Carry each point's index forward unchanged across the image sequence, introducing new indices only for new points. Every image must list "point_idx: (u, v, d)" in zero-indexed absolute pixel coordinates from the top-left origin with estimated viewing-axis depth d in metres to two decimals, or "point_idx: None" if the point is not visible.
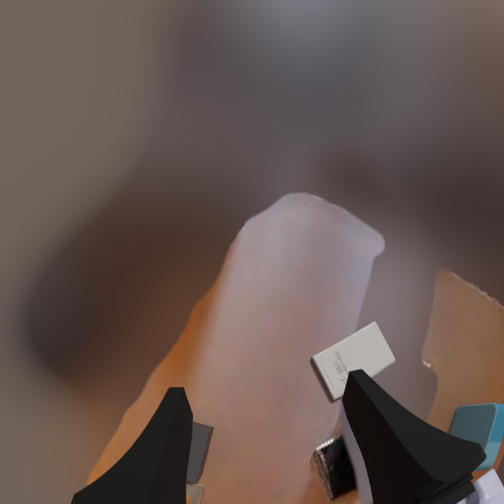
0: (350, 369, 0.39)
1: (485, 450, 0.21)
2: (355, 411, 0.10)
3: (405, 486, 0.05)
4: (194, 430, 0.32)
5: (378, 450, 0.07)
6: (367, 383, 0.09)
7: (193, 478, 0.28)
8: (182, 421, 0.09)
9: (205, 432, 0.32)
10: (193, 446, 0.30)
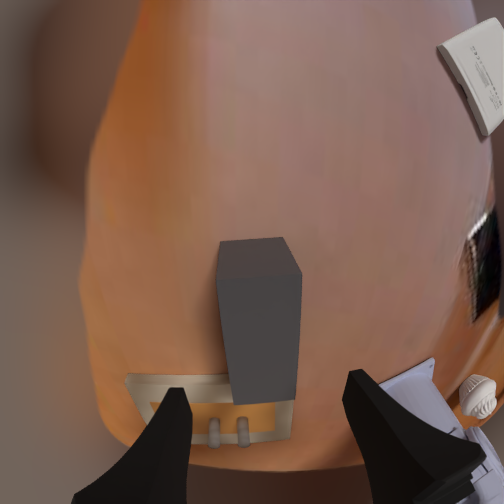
0: (495, 82, 0.12)
1: None
2: (355, 411, 0.10)
3: (405, 486, 0.05)
4: (258, 282, 0.12)
5: (378, 450, 0.07)
6: (367, 383, 0.09)
7: (285, 394, 0.15)
8: (182, 422, 0.09)
9: (292, 276, 0.12)
10: (268, 327, 0.13)
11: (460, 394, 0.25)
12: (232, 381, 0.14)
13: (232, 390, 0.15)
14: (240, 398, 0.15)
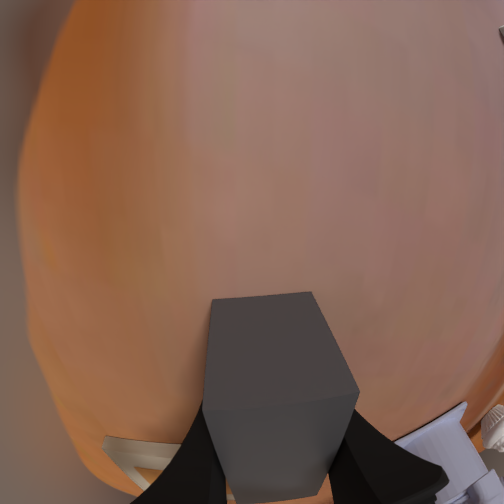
0: None
1: None
2: None
3: None
4: (281, 411, 0.06)
5: (337, 462, 0.07)
6: None
7: (305, 493, 0.09)
8: None
9: (342, 396, 0.06)
10: (292, 452, 0.07)
11: (482, 427, 0.19)
12: (235, 491, 0.08)
13: (235, 496, 0.08)
14: (245, 500, 0.09)
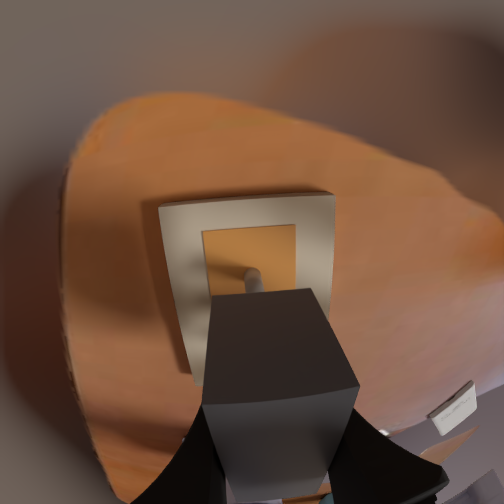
0: (452, 414, 0.28)
1: None
2: None
3: None
4: (281, 406, 0.06)
5: (337, 462, 0.07)
6: None
7: (305, 491, 0.09)
8: None
9: (342, 390, 0.06)
10: (292, 449, 0.07)
11: None
12: (234, 489, 0.08)
13: (234, 494, 0.08)
14: (245, 498, 0.09)
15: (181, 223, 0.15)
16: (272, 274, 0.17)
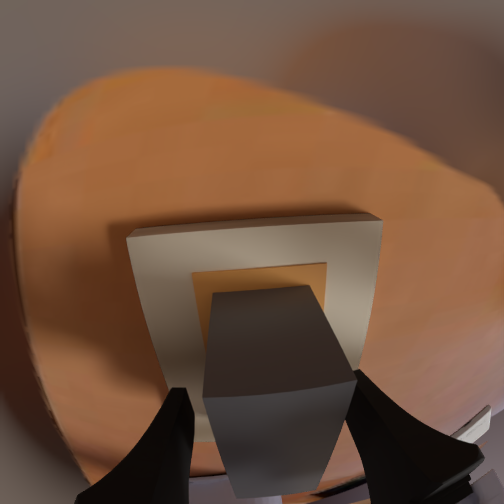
0: (465, 438, 0.23)
1: None
2: (352, 412, 0.10)
3: (402, 488, 0.05)
4: (280, 399, 0.06)
5: (376, 451, 0.07)
6: (365, 384, 0.09)
7: (305, 487, 0.09)
8: (185, 422, 0.09)
9: (340, 384, 0.06)
10: (290, 443, 0.07)
11: None
12: (234, 485, 0.08)
13: (234, 490, 0.09)
14: (245, 494, 0.09)
15: (160, 261, 0.10)
16: None
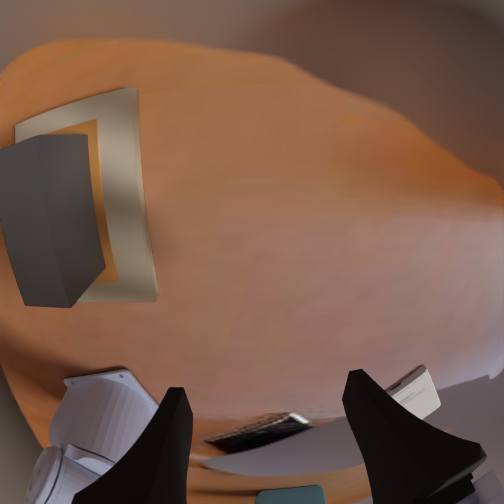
0: None
1: None
2: (355, 412, 0.10)
3: (405, 486, 0.05)
4: (12, 150, 0.09)
5: (378, 450, 0.07)
6: (367, 383, 0.09)
7: (58, 296, 0.12)
8: (182, 422, 0.09)
9: (33, 139, 0.09)
10: (22, 197, 0.10)
11: None
12: (14, 269, 0.11)
13: (17, 282, 0.11)
14: (26, 295, 0.12)
15: (25, 134, 0.13)
16: None
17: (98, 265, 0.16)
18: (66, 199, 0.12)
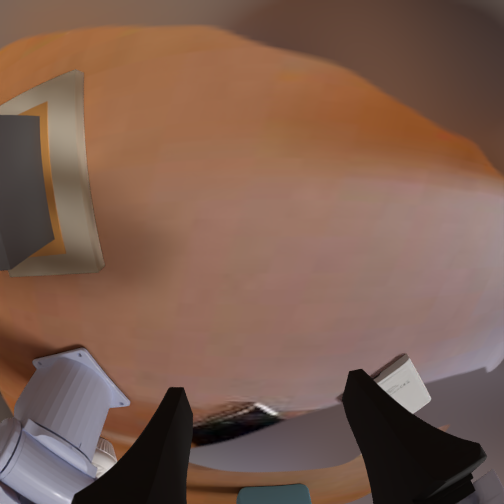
0: None
1: None
2: (355, 412, 0.10)
3: (405, 487, 0.05)
4: None
5: (378, 450, 0.07)
6: (367, 383, 0.09)
7: (1, 258, 0.11)
8: (182, 422, 0.09)
9: None
10: None
11: None
12: None
13: None
14: None
15: None
16: None
17: (45, 235, 0.15)
18: (13, 171, 0.11)
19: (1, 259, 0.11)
